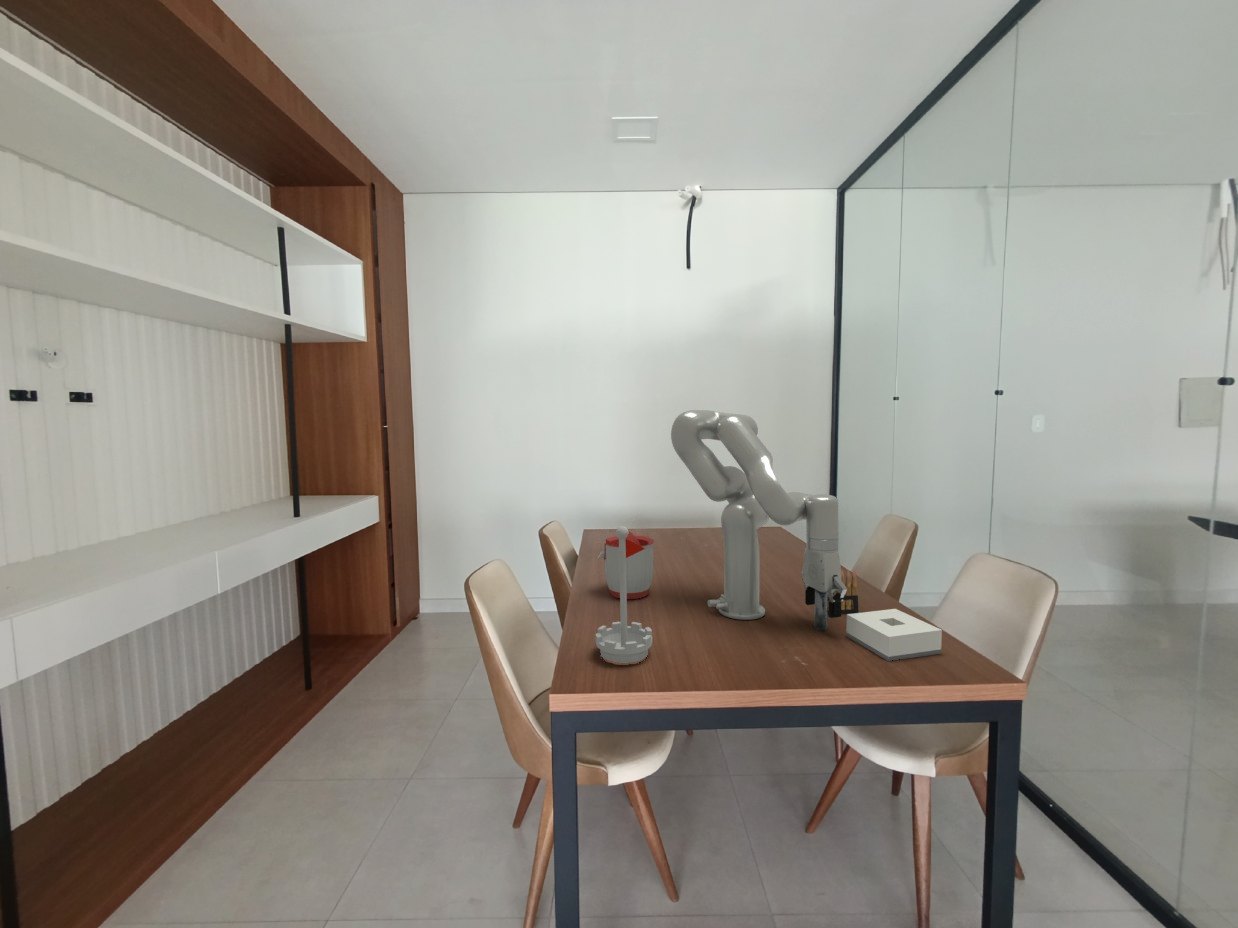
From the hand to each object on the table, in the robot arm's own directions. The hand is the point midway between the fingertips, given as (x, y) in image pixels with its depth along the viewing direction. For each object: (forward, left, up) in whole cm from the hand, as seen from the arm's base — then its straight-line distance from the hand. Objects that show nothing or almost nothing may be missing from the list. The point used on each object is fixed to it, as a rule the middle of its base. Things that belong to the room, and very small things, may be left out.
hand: (822, 610), depth 132 cm
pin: (0, 0, -5) cm, 5 cm away
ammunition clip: (+11, +8, -5) cm, 14 cm away
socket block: (+10, -13, -5) cm, 17 cm away
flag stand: (-52, -1, -5) cm, 52 cm away
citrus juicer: (-41, +40, -5) cm, 58 cm away
